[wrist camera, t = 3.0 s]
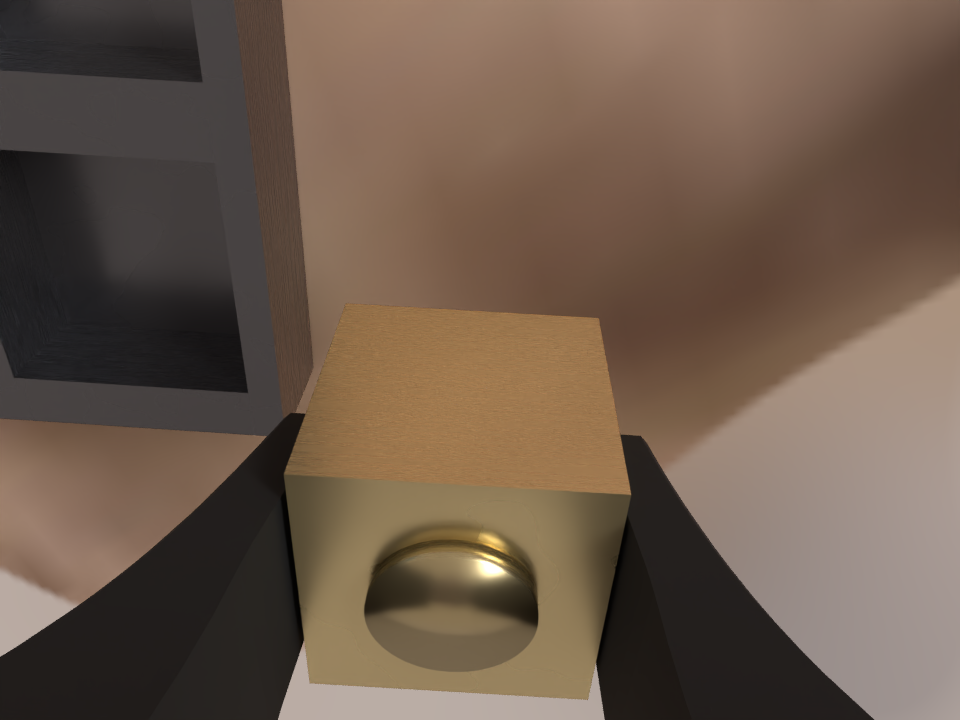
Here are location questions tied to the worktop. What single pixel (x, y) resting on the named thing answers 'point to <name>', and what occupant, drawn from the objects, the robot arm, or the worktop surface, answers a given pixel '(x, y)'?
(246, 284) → the cabinet frame
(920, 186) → the worktop surface
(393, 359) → the wooden knob block
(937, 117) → the worktop surface
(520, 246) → the worktop surface
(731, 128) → the worktop surface
